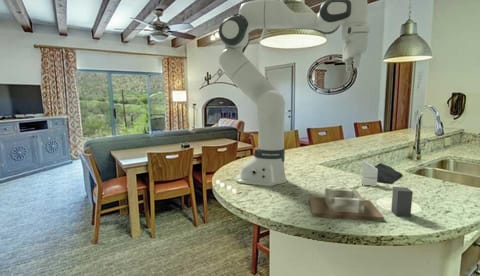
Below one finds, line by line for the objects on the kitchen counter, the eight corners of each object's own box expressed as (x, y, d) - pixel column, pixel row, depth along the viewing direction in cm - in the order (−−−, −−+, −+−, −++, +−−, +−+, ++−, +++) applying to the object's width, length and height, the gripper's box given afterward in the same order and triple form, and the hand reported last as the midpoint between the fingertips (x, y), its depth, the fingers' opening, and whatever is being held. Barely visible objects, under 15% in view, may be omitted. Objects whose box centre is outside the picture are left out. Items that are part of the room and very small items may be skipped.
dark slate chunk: (355, 179, 124) (355, 169, 124) (369, 170, 141) (370, 161, 140) (393, 186, 114) (393, 175, 114) (404, 175, 131) (404, 165, 130)
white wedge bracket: (351, 175, 119) (363, 159, 116) (372, 189, 116) (385, 173, 113) (350, 177, 116) (362, 161, 113) (372, 192, 113) (385, 176, 109)
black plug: (396, 216, 83) (398, 190, 82) (391, 211, 87) (393, 186, 86) (410, 217, 83) (412, 191, 82) (404, 211, 87) (406, 187, 86)
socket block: (312, 216, 83) (313, 199, 82) (309, 200, 97) (309, 185, 96) (383, 221, 80) (384, 204, 79) (369, 203, 93) (370, 188, 93)
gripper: (339, 41, 118) (337, 73, 119) (353, 25, 98) (351, 65, 99) (354, 40, 117) (353, 73, 118) (371, 25, 97) (369, 64, 98)
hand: (352, 69), depth 108 cm, fingers open, 8 cm apart
